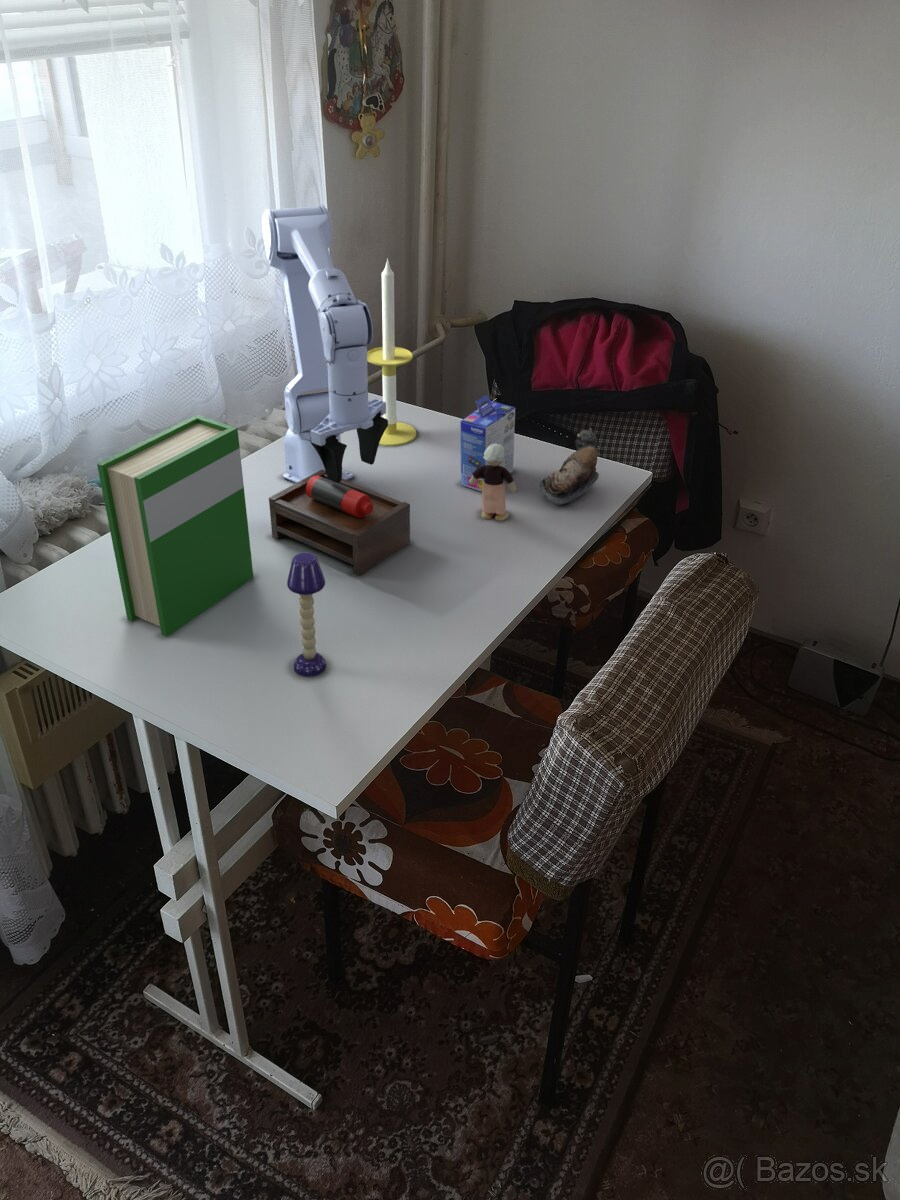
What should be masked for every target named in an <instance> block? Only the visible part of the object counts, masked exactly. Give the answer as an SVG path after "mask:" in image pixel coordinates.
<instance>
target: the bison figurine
mask: <svg viewBox="0 0 900 1200" xmlns="http://www.w3.org/2000/svg"><path fill="white" fill-rule="evenodd" d="M576 437H577V438H576V439H575V441H574V444H575V449H576V450H575V451H574V452H573V453H571V454H570V455H569V456H568V457H567V458H566V459H565V460H564V461H563V463H562V465H561V467H560V468H559V469H555V470H554V471H553V472H552V473H551V475H548V476H547V477H543V478H542V480H540V481H539V488H540V491H541V492H542V493H543V495H544V497H545V498H546V499H547V500H548V501H549V502H551V503H554V504H556V505H558V506H561V505H564V504H570V503H571V502H572V501H574V500H576V499H577V498H578V497H580V496H582V495H583V494H585V492H587V491H588V490H589V489H590V488H591V487H592V486H594V484H596V482H597V481H598V479H599V476H600V473H599V472H598V471H597V464H598V455H599V453H598V451H597V447H598V438H597V435H596V434H595V433H594V432H593V430H592V428H591V427H589V430H587V429H583V430H581V431H580V432H578V433H576Z"/></svg>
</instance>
